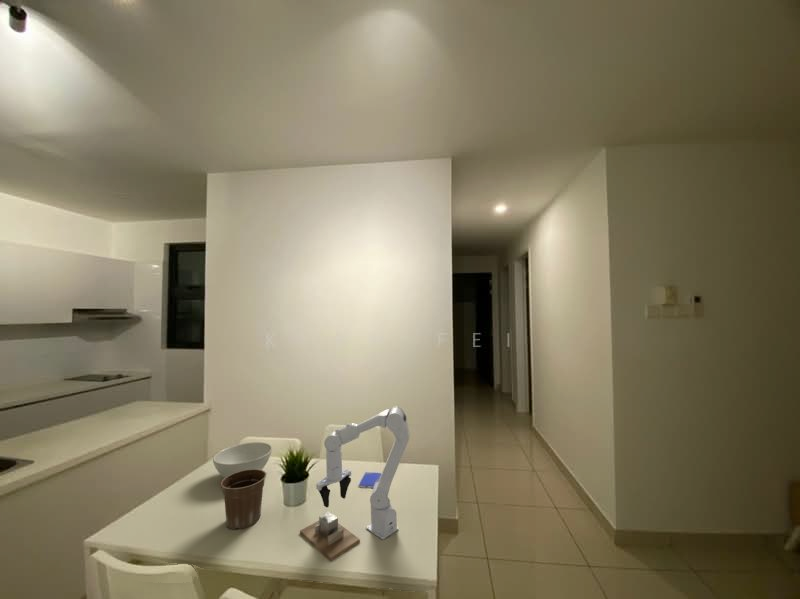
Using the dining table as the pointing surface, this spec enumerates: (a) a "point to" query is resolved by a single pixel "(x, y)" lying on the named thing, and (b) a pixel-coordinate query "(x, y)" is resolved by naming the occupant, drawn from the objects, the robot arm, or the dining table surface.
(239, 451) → the decorative bowl
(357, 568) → the dining table surface
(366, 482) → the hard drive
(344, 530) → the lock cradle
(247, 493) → the plant pot
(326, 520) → the block
